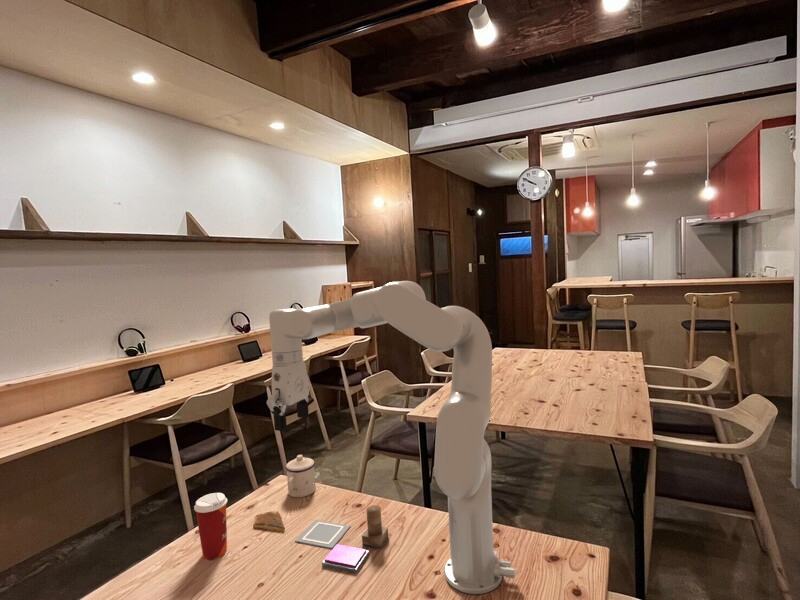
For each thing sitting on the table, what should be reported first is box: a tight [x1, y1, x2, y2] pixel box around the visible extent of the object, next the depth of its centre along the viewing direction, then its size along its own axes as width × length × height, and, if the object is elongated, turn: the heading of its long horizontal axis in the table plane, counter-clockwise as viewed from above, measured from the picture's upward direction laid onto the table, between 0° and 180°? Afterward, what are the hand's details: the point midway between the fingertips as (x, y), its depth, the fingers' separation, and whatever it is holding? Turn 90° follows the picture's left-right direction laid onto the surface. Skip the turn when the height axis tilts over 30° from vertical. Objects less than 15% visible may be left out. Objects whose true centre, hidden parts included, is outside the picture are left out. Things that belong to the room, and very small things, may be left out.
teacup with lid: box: [285, 454, 316, 498], centre depth 138 cm, size 12×9×12 cm
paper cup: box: [193, 492, 228, 561], centre depth 110 cm, size 8×8×14 cm
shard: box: [252, 510, 286, 532], centre depth 121 cm, size 11×8×2 cm
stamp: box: [361, 504, 389, 551], centre depth 110 cm, size 5×5×9 cm
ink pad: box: [321, 543, 370, 574], centre depth 104 cm, size 9×7×2 cm
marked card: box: [294, 519, 351, 550], centre depth 115 cm, size 11×10×1 cm
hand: (292, 423), depth 111 cm, fingers open, 9 cm apart
